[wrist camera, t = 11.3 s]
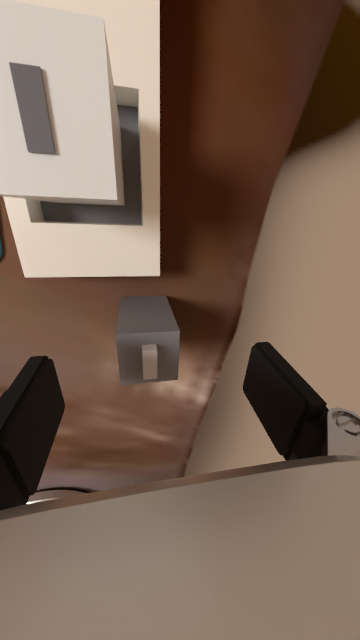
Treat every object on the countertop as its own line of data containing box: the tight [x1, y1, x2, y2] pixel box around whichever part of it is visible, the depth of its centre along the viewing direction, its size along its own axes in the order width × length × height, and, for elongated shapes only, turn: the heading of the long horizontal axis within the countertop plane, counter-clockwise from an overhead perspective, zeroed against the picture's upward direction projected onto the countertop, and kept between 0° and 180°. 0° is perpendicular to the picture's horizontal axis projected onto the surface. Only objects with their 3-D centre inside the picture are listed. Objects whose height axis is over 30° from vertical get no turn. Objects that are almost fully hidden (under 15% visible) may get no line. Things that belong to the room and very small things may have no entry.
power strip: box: [3, 0, 160, 277], centre depth 11 cm, size 18×8×3 cm, turn 178°
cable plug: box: [116, 296, 180, 385], centre depth 15 cm, size 4×4×7 cm
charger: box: [0, 0, 125, 206], centre depth 10 cm, size 4×4×8 cm
